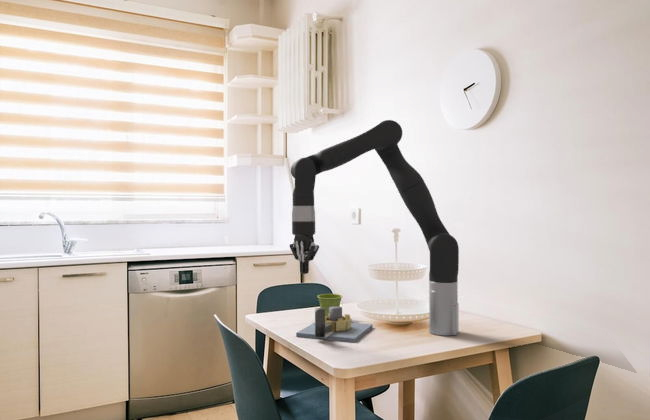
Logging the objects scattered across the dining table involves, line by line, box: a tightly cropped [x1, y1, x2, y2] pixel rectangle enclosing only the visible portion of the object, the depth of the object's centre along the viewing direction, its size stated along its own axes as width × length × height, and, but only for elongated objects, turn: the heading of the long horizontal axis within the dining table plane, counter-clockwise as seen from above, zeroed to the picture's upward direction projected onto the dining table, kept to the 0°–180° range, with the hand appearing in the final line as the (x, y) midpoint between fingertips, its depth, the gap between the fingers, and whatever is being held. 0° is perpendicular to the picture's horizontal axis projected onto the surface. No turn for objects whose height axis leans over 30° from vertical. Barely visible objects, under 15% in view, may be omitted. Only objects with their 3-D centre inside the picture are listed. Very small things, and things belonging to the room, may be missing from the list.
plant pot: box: [316, 293, 343, 316], centre depth 184 cm, size 9×9×9 cm
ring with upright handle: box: [314, 307, 352, 337], centre depth 160 cm, size 19×10×8 cm, turn 155°
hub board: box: [295, 306, 374, 343], centre depth 163 cm, size 20×22×8 cm
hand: (304, 273), depth 158 cm, fingers closed
